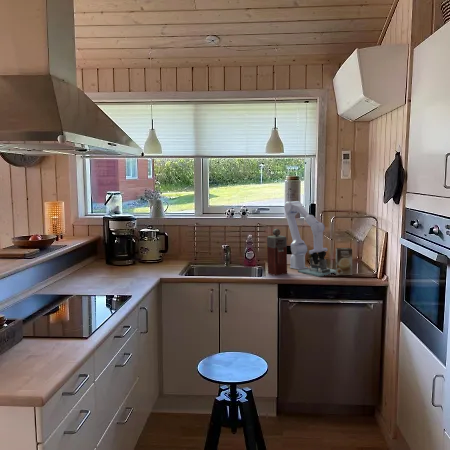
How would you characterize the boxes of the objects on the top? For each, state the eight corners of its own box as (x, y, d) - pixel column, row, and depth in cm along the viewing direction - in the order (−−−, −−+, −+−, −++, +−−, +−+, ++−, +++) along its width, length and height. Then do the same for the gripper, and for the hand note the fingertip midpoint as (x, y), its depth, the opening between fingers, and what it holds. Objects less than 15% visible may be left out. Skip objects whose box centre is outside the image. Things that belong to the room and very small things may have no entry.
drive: (310, 267, 283) (310, 258, 283) (314, 266, 285) (314, 257, 285) (321, 269, 275) (321, 260, 274) (326, 268, 277) (326, 259, 277)
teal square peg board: (297, 272, 283) (297, 266, 282) (318, 267, 293) (318, 262, 292) (319, 276, 268) (319, 271, 268) (339, 272, 278) (339, 266, 278)
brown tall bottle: (277, 276, 274) (276, 230, 271) (267, 272, 284) (266, 228, 281) (289, 274, 278) (288, 229, 275) (279, 271, 288) (278, 227, 285)
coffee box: (336, 275, 269) (336, 249, 267) (335, 273, 275) (335, 247, 273) (352, 275, 268) (352, 249, 266) (350, 273, 274) (350, 247, 272)
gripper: (314, 244, 271) (314, 266, 272) (331, 241, 279) (331, 263, 280) (306, 243, 277) (306, 264, 278) (322, 240, 285) (323, 261, 286)
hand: (318, 263), depth 280 cm, fingers closed on drive, 4 cm apart
